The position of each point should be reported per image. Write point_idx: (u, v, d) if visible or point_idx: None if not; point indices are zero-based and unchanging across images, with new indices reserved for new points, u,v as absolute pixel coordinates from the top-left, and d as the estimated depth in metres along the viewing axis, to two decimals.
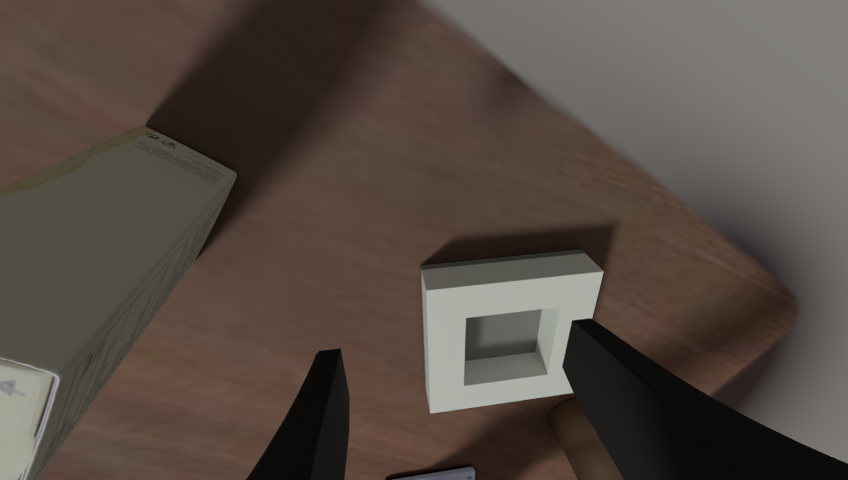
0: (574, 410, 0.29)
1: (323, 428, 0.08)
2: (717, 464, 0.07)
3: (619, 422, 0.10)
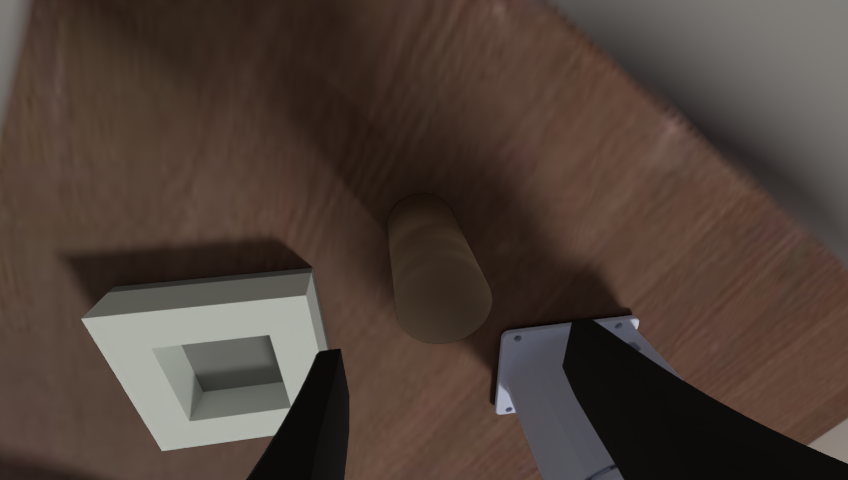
0: None
1: (323, 428, 0.08)
2: (718, 464, 0.07)
3: (619, 422, 0.10)
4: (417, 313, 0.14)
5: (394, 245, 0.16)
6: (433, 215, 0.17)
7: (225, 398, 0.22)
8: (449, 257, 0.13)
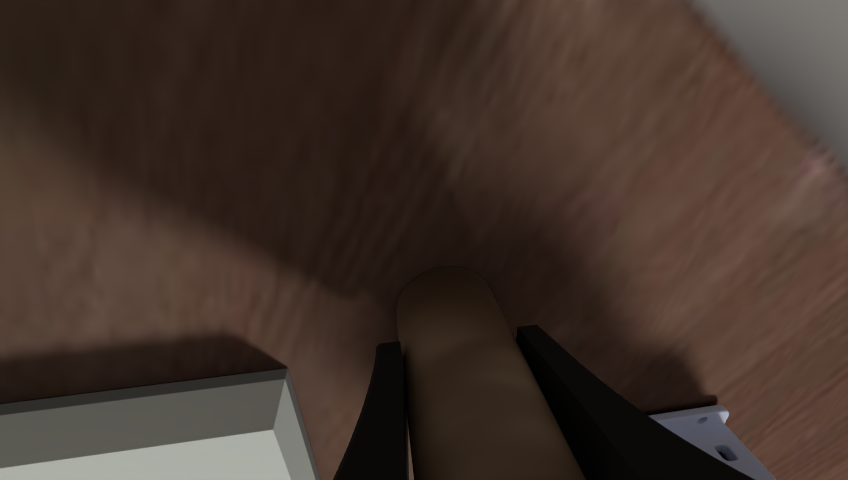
0: None
1: (402, 417, 0.08)
2: None
3: None
4: None
5: (411, 372, 0.10)
6: (472, 319, 0.10)
7: None
8: (521, 445, 0.07)
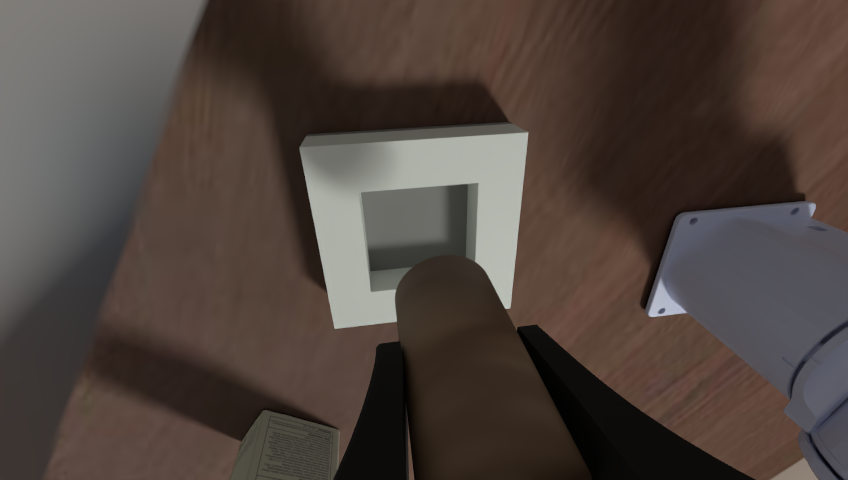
0: (397, 325, 0.13)
1: (402, 417, 0.08)
2: (629, 479, 0.07)
3: None
4: None
5: (413, 352, 0.10)
6: (477, 304, 0.10)
7: (398, 275, 0.21)
8: (527, 423, 0.07)
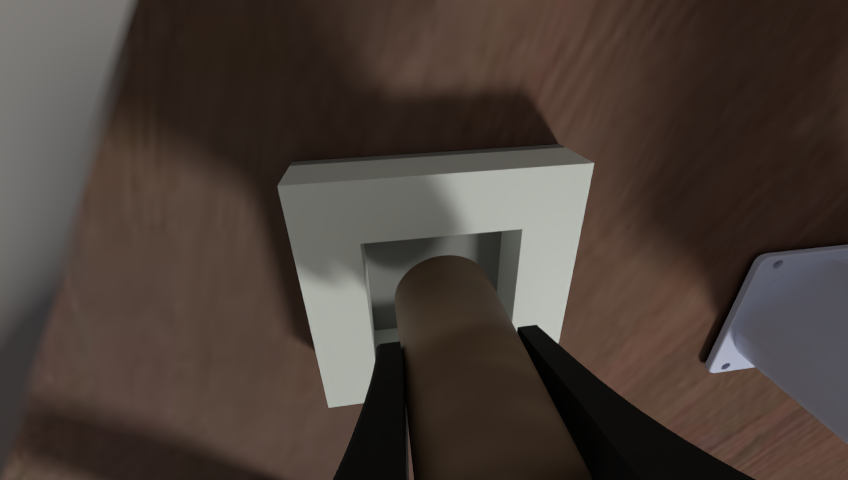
0: None
1: (402, 417, 0.08)
2: None
3: None
4: None
5: (412, 352, 0.10)
6: (476, 305, 0.10)
7: None
8: (527, 423, 0.07)
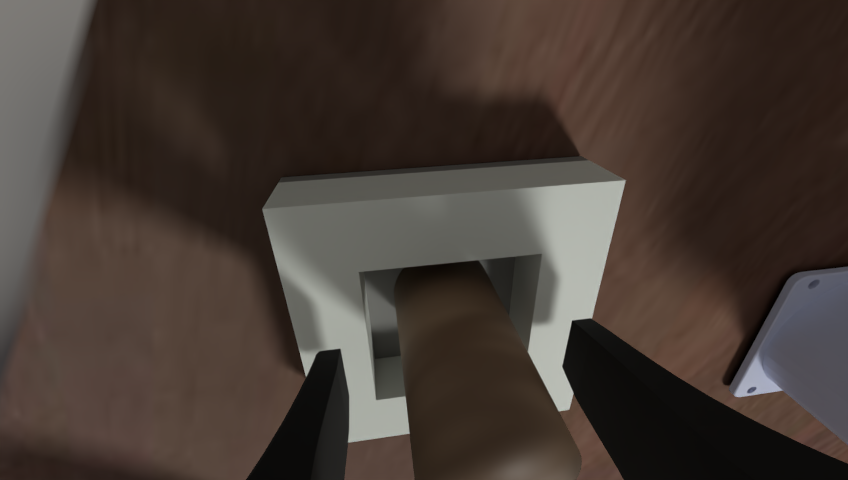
0: None
1: (323, 428, 0.08)
2: (717, 464, 0.07)
3: (619, 422, 0.10)
4: None
5: (411, 340, 0.10)
6: (473, 295, 0.11)
7: None
8: (519, 403, 0.08)
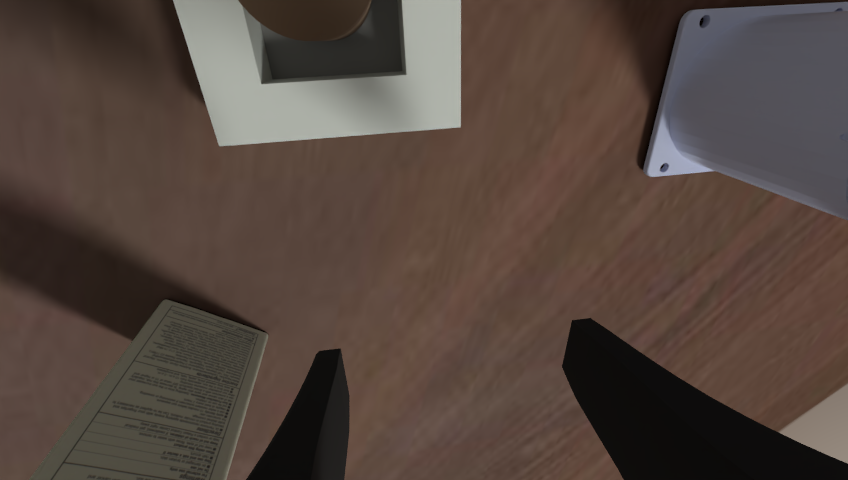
0: None
1: (323, 428, 0.08)
2: (718, 465, 0.07)
3: (619, 422, 0.10)
4: None
5: None
6: None
7: (306, 78, 0.15)
8: None
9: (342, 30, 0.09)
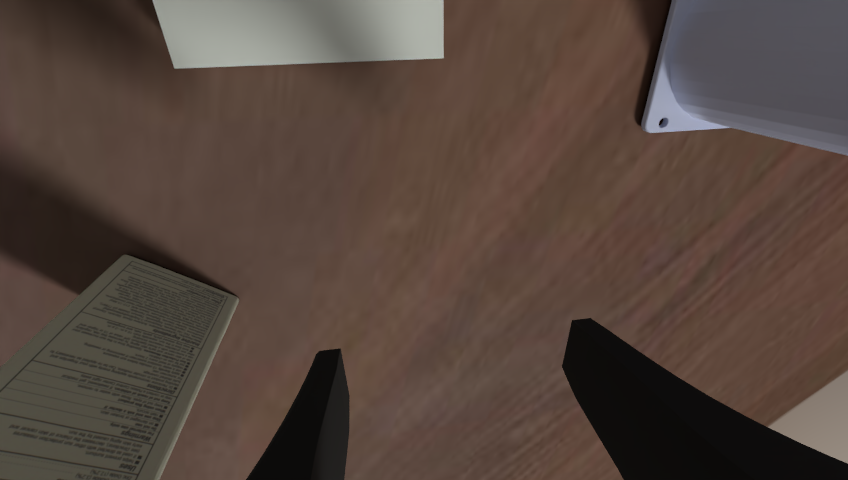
0: None
1: (323, 428, 0.08)
2: (717, 464, 0.07)
3: (619, 422, 0.10)
4: None
5: None
6: None
7: None
8: None
9: None
